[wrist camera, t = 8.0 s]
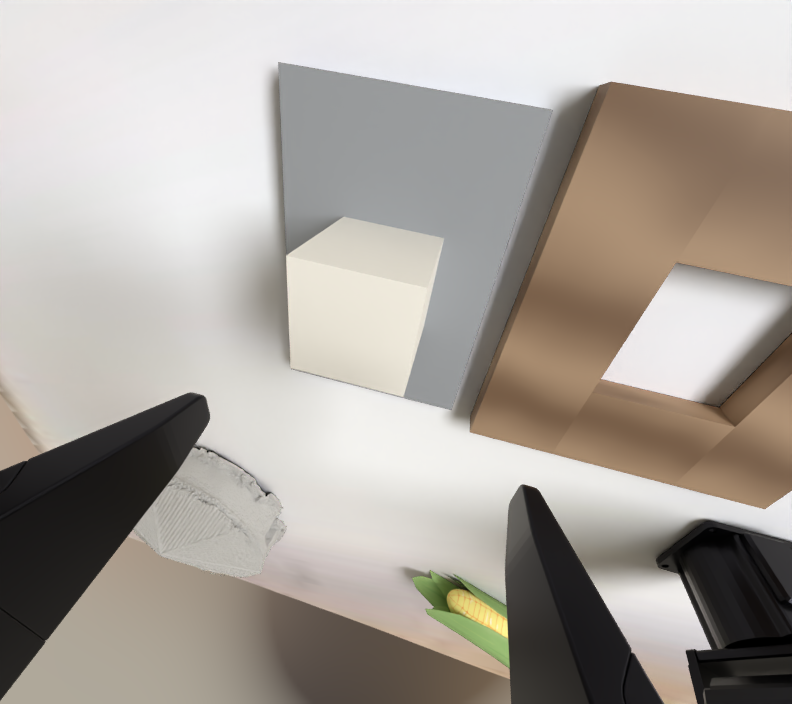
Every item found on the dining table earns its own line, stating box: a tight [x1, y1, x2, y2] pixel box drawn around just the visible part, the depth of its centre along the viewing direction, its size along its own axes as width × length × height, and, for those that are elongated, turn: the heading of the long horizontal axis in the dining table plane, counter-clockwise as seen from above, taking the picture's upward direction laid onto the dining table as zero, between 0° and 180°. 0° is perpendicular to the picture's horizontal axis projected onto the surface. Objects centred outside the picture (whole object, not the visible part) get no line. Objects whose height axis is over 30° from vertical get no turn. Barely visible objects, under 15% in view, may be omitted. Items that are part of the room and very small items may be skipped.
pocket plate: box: [470, 82, 792, 509], centre depth 17 cm, size 18×18×2 cm
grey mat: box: [278, 62, 553, 410], centre depth 18 cm, size 16×11×1 cm
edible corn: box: [412, 570, 510, 669], centre depth 36 cm, size 5×20×5 cm
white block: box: [286, 217, 444, 397], centre depth 15 cm, size 5×5×6 cm
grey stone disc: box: [133, 447, 287, 578], centre depth 36 cm, size 20×20×7 cm
